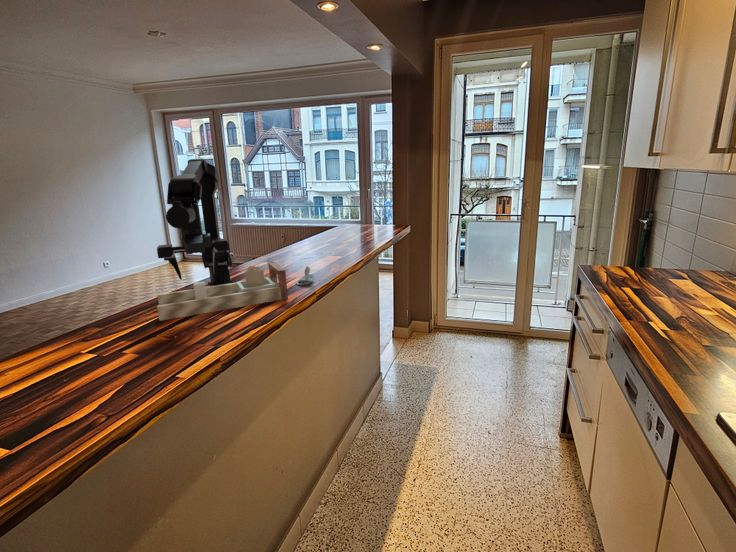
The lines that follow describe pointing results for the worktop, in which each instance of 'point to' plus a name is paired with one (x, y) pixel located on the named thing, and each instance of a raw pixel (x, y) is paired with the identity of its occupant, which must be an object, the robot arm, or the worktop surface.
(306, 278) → the pacifier
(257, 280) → the candle
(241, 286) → the square frame with handle
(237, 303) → the channel
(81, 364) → the worktop surface
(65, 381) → the worktop surface
